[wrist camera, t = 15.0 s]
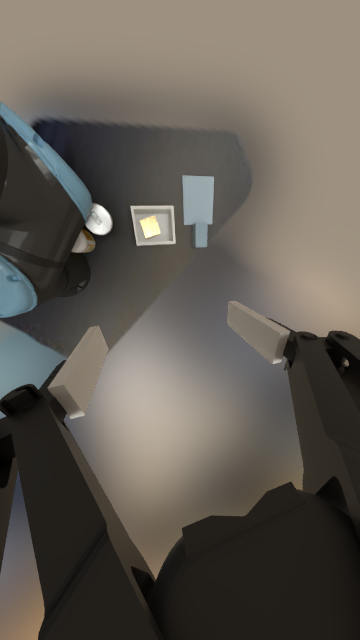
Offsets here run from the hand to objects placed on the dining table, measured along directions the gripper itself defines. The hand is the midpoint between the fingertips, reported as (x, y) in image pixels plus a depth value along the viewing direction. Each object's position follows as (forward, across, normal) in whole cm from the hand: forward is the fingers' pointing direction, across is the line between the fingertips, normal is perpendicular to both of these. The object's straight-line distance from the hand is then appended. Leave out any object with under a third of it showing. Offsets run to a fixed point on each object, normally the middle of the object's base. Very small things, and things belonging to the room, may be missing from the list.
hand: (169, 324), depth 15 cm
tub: (+35, +3, +12) cm, 37 cm away
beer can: (+36, -10, +15) cm, 40 cm away
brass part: (+35, +2, +12) cm, 37 cm away
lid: (+36, +16, +14) cm, 42 cm away
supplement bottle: (+36, -16, +11) cm, 41 cm away
